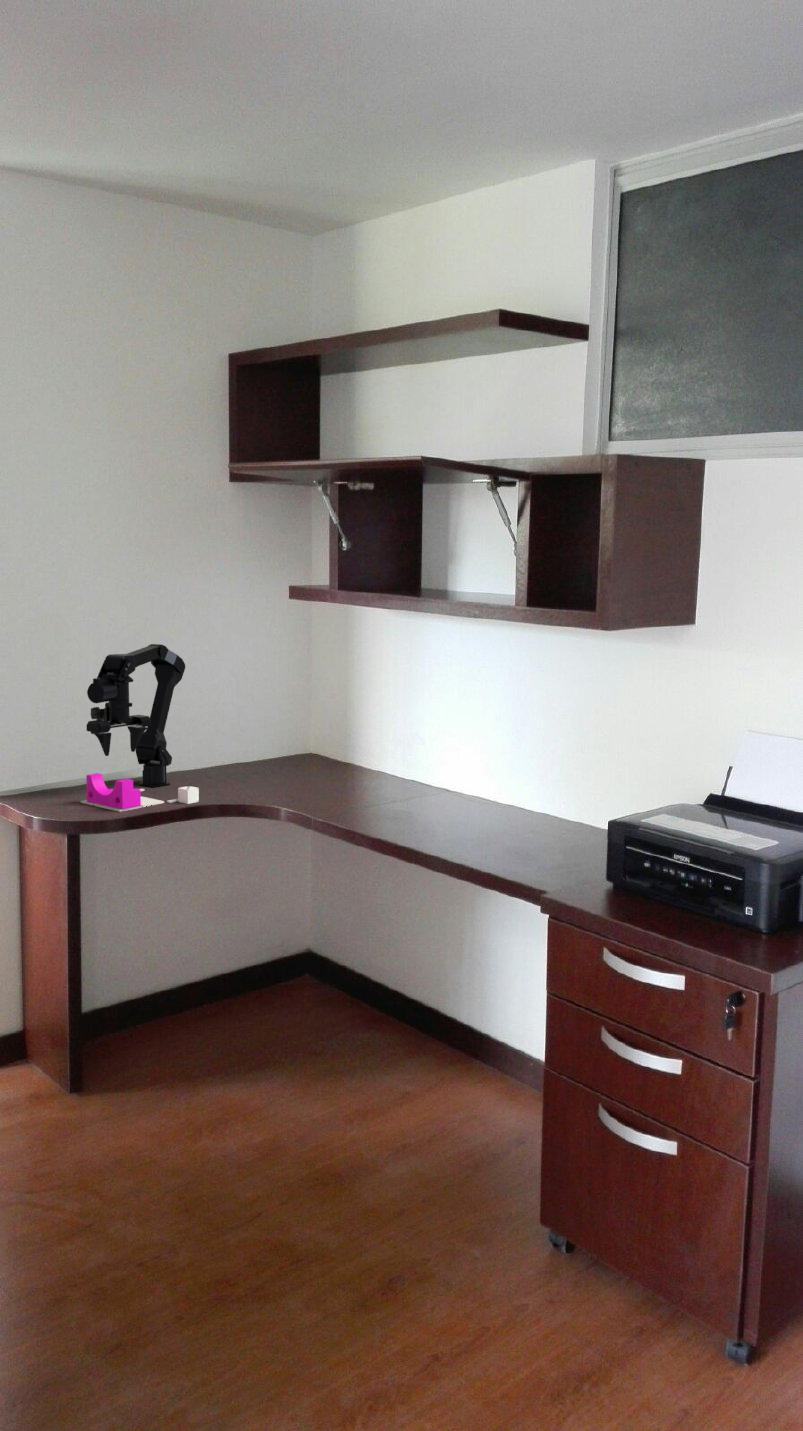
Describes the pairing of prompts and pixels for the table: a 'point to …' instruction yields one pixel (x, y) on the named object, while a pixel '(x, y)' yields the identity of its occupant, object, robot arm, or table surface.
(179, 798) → the die
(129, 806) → the toy block
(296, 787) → the table surface
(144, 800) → the game board
